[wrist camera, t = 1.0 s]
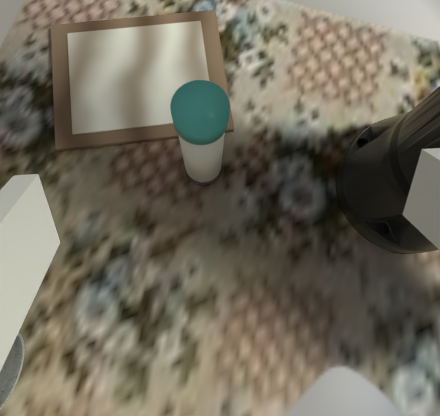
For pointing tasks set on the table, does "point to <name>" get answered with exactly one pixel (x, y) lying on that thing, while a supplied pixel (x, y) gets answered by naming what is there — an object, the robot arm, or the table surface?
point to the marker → (201, 128)
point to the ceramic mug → (11, 369)
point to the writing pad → (129, 76)
